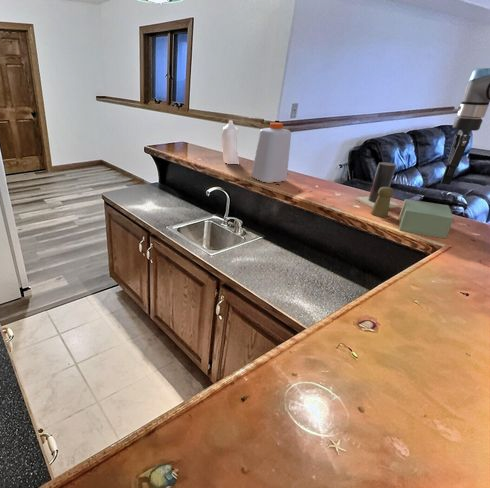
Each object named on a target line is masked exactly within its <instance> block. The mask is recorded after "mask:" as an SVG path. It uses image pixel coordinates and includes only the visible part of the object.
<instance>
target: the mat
mask: <svg viewBox="0 0 490 488" xmlns="http://www.w3.org/2000/svg"><path fill="white" fill-rule="evenodd" d="M355 199H356V200H355ZM368 199H369V196H355V197H354V200H355V201H357V200H358V201H357V202H359V201H360V202H359V203H361V204H363V205H365V206H367V207H369V208H370V209H371V208H372V209H373V206H374V204H375V203H374V202H371V201H369V200H368ZM391 208H400V204H398V203H396V202H394V201H391V200H390V205H389V209H391Z"/></svg>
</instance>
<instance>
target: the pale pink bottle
mask: <svg viewBox="0 0 490 488" xmlns="http://www.w3.org/2000/svg"><path fill="white" fill-rule="evenodd" d="M233 121H234V120H231V119H229V120H228V123H227V124H226V125H225V126H224V127H222V130H221V149H222V158H223V163H224V162H225V163H227V164H226V165H228V164H238V165H240V160H239V154H238V148H237V146H238V145H237V144H238V131H239V130H238V129H239V128H238V127H237V126H235V124H234V122H233ZM225 163H224V164H225Z"/></svg>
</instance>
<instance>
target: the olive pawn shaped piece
mask: <svg viewBox="0 0 490 488" xmlns="http://www.w3.org/2000/svg"><path fill="white" fill-rule="evenodd" d="M378 194H379V196H378V198H377V200H376V202H375V204H374V206H373V208H372V209H371V211H370V214H371V215H372V216H375V217H379V218H387V217H389V211H390V208H389V205H390V201H391V199H392V198H391V197H392V196H393V195H394V194H395V190H394V189H393V188H392V187H391V186H390V187H381V188H380V189H379V190H378Z"/></svg>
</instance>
